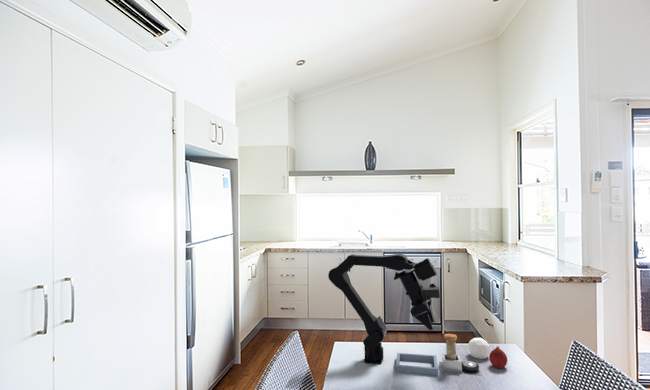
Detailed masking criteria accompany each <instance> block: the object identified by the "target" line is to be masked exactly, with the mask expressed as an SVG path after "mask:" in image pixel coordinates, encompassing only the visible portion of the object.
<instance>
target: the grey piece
mask: <svg viewBox="0 0 650 390" xmlns="http://www.w3.org/2000/svg"><path fill="white" fill-rule="evenodd" d="M438 364H439V369H440V373H445V374H459V375H470V376H472V375H473V376H482V373H481V370H480V364H478V363H477V362H474V361H470V360H465V361H462V359H461V356H460V354H456V360H447V353H441V361H439V363H438Z"/></svg>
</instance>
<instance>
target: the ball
mask: <svg viewBox="0 0 650 390" xmlns="http://www.w3.org/2000/svg"><path fill="white" fill-rule="evenodd" d="M467 349H468V352H469V354H470V356H471V357H473V358H475V359H480V360H483V359H486V358H489V355H490V353H491V349H490V345H489V343H488V342H487V341H486V340H485V339H484V338H482V337H473V338H471V339H470V341H469V342H468V344H467Z"/></svg>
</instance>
